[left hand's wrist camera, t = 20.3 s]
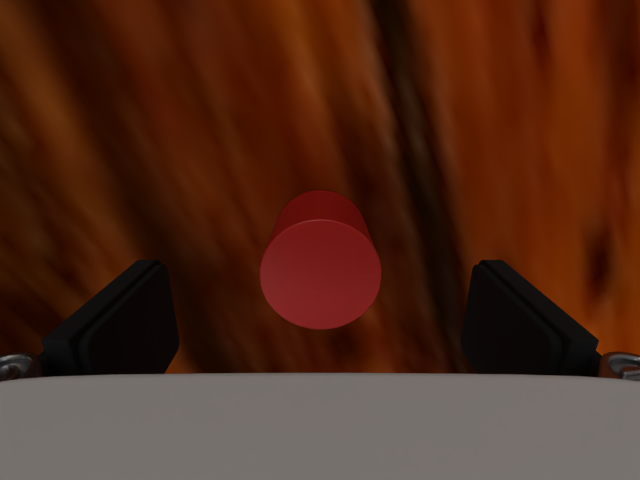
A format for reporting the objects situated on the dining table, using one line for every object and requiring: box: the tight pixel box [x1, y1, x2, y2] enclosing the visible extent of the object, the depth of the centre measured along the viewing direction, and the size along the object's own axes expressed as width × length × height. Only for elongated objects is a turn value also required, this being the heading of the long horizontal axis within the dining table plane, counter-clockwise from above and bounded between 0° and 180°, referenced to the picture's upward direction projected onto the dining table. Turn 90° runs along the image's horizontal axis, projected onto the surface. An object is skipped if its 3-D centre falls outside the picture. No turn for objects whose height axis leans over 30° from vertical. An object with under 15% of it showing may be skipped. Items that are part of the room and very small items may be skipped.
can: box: [260, 190, 382, 329], centre depth 15 cm, size 4×4×5 cm
